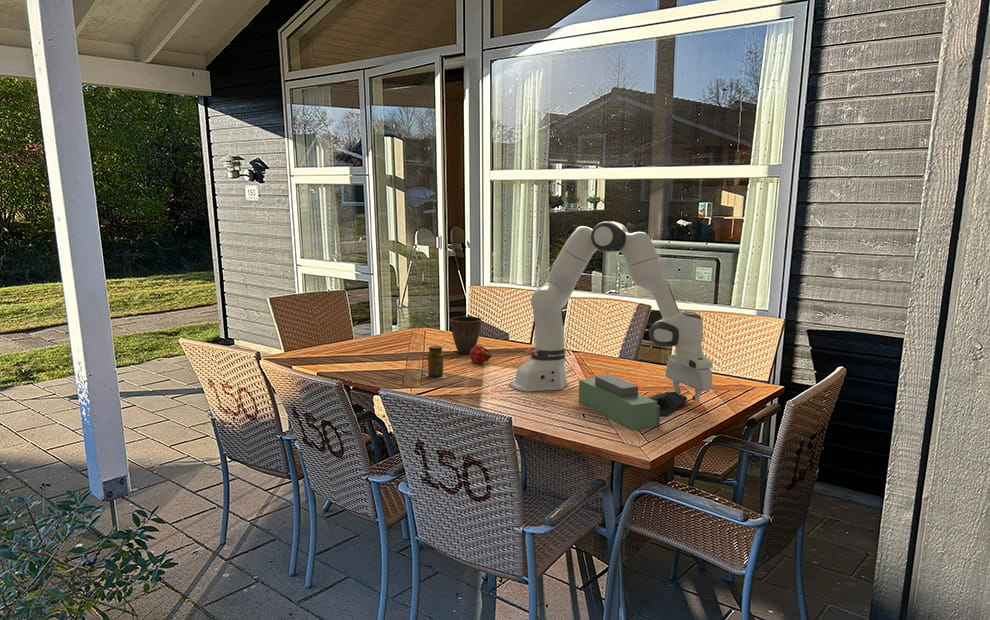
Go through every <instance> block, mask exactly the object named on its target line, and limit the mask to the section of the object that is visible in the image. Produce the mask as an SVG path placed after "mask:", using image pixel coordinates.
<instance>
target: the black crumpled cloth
mask: <svg viewBox="0 0 990 620" xmlns="http://www.w3.org/2000/svg"><path fill="white" fill-rule="evenodd" d="M648 398H650V399H652V400H655V401H657V405H659V406H660V417H667V416H668V415H669V414H672V413H673V412H674V411H676V410H677V409H678V408H679V407H681V406H682V405H684V403H685V402H686V401H687V400H688V397H687V396H686V395H684V394H683V395H682V393H681V394H678V393H675V391H668V392H660V393H657V394H655V395H653V396H649V397H648Z"/></svg>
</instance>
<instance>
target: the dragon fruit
mask: <svg viewBox="0 0 990 620" xmlns="http://www.w3.org/2000/svg"><path fill="white" fill-rule="evenodd" d="M467 356H468V357H470V361H471V363H477V364H478V365H484V363H485V362H487V363H488V362H489V361H490V359H492V355H491V353H490V352H489V350H488V349H487V348H485V347H484V346H483V345H479V344H476V346H474V347H473V348H471V350H470V352H469V354H467Z"/></svg>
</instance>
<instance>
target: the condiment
mask: <svg viewBox="0 0 990 620" xmlns="http://www.w3.org/2000/svg"><path fill="white" fill-rule="evenodd" d="M427 369H428V370H427V371H428V373H425V374H424V375H425V376H426V377H427V378H428V379H430V380H440V379H441V380H442V379H447V378H448V377H447V376H446V375H445V374H444V354H443V347H442V346H441V345H440V346H439V345H433V346H429V348H428V354H427Z"/></svg>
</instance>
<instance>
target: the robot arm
mask: <svg viewBox="0 0 990 620" xmlns="http://www.w3.org/2000/svg"><path fill="white" fill-rule="evenodd" d="M652 241H653V240H652V239H651V238H650V236H649V234H647V233H646V232H644V231H635V232H632V233H631V232H630V230H629V228H628V227H627V226H626V225H625V224H623V223H620V222H618V221H613V220H612V221H607V220H605V221H602V222H599V223H598V224H596V225H595V226H594V227H593V228H591V227H588V226H584V225H580V226H577V228H575V230H574V231H572V233H571V234H570V236H569V237H568V238H567V239H566V241H565V242H564V245H563V246H562V248H561V250H560V252H559V253H558V254H557V257H556V259H555V260H554V262H553V264H552V266H551V270H550V271H549V272H550V273H549V274H548V276H547V279H546V280H545V283H543V285H541V286H540V287H538V288H536V290H534V292H533V294H532V296H531V298H530V304H531V308H532V313H533V321H534V327H535V329H534V331H535V334H534V335H535V338H534V340H535V343H534V344H535V345H534V347H533V349H532V348H526V350H525V351H526V353H527V354H528V355H530V358H529V359H527V360H526V361H525V362H524V363H523V364H522V365H520V366H519V367H518V368H517V369H516V372H515V373H516V374H515V377H514V378H515V379H512V380H509V385H510V387H512V388H513V389H516V390H517V391H520V392H521V391H522V392H524V393H525V392H541V391H555V390H556V391H559V390H560V391H561V390H563V389H564V388H565V387H566V386H568V381H567V380H568V379H567V375H566V370H565V369H566V367H565V361H566V360H565V359H566V348H565V326H564V322H563V316H562V315H563V314H562V309H563V308H564V307H565V306H566V305H567V303H568V301H569V299H570V297H571V295H572V293H573V291H574V289H575V287H576V285H577V283H578V281H579V279H580V277H581V276H582V274H583V272H584V271H585V269H586V267H587V266H588V264H589V262H590V260H591V259H592V257H593V255H594V254H595V253H596V251H598V250H599V251H601V252H605V253H615V252H620V253H621V254H622V255H623V257H624V259H625V261H626V264H627V268H628V272H629V274H630V277H631V279H632V280H633V282H634V284H635V285H636V286H638V287H639V288H641V289H644V290H646V291H647V292H649V293H650V294H651V295H652V296H653V297H654V300H655V303H656V304H657V308H658V310H659V313H660V314H661V319H659V320H657V321H655V322H653V323H652V324H651V326H650V327H649V330H648V336H649V340H650V341H651V342H652V343H653V344H654V345H655V346H656V347H661V348H665V347H675V353H670V355H668V360H667V362H666V368H665V377H666V378H667V379H668V380H671V381H672V384H673V388H674V392H675V393H678V394H681V395H682V388H681V385H684V386H686V387H690V388H692V389H694V392H695V393H694V394H693V395H692V401H694V402H699V401H700V398H701V397H700V396H701V395H702V393H703V392H708V391H710V390H711V389H712V388H713V387H712V385H713V371H712V368H713V362H712V361H711V360H710V359H709V358H708V357H707V356H705V354H703V347H702V343H703V339H704V323H703V318H702V316H701V315H700V314H698V313H696V312H694V311H687V310H682V311H680V309H679V307H678V304H677V302H676V300H675V298H674V294H673V292H672V290H671V288H670V285H669V283H668V281H667V279H666V275H665V273H664V271H663V268H662V264H661V261H660V258H659V255H658V253H657V250H656V248H655V246H654V245H655V244H654V243H653V242H652ZM680 384H681V385H680Z"/></svg>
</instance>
